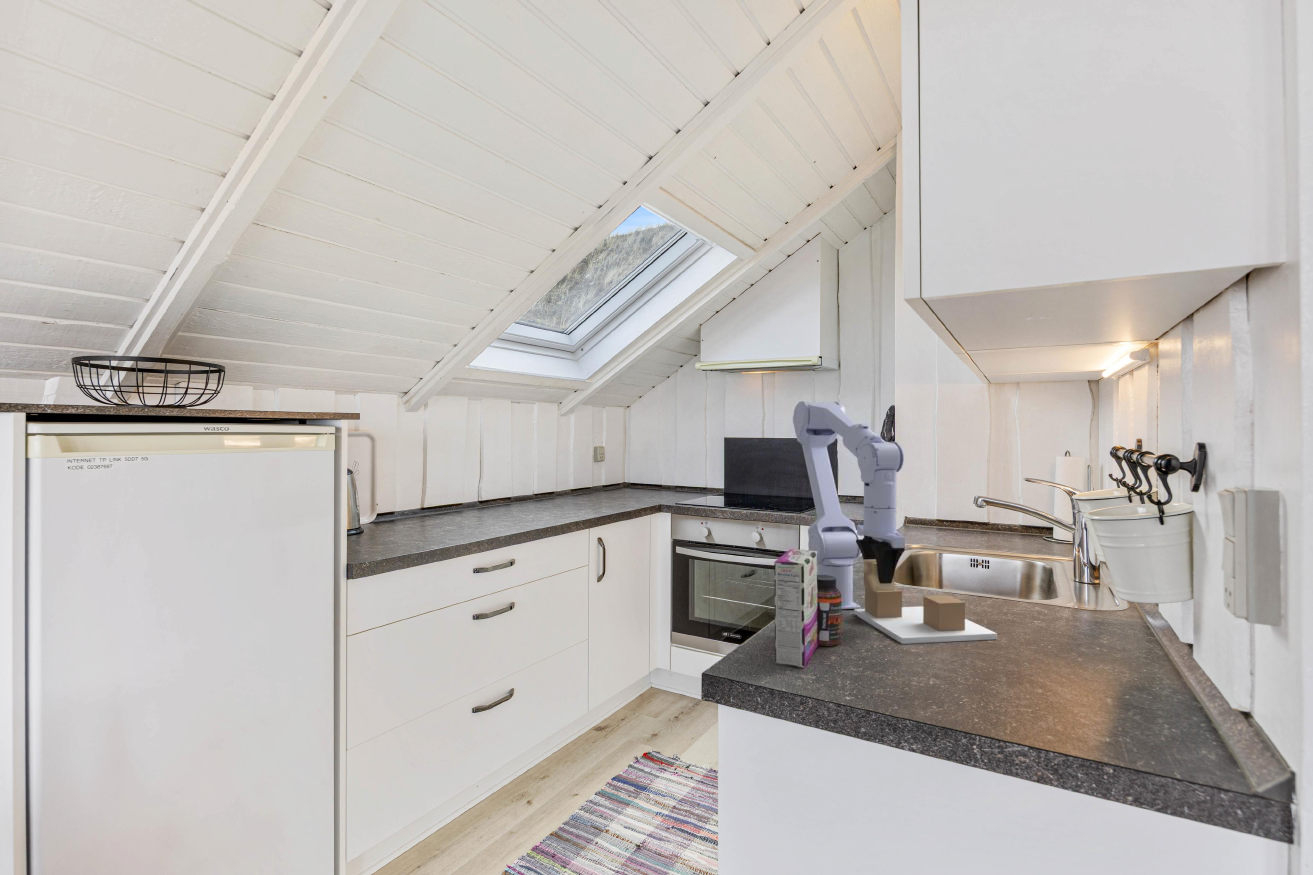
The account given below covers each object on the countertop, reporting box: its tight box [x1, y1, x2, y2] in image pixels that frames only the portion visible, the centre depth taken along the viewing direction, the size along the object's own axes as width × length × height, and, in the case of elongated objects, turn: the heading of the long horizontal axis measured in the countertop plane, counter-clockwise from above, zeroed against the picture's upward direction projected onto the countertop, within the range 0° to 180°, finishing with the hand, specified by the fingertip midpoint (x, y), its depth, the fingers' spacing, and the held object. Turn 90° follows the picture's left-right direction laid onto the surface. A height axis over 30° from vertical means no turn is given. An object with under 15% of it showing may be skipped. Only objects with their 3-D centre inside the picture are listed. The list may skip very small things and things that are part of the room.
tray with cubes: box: [853, 586, 998, 645], centre depth 120 cm, size 18×18×6 cm
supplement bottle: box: [817, 575, 842, 647], centre depth 111 cm, size 6×6×11 cm
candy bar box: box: [773, 548, 819, 669], centre depth 104 cm, size 11×5×16 cm, turn 155°
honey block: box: [863, 559, 895, 591], centre depth 118 cm, size 4×4×5 cm
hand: (879, 580), depth 118 cm, fingers closed on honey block, 4 cm apart
